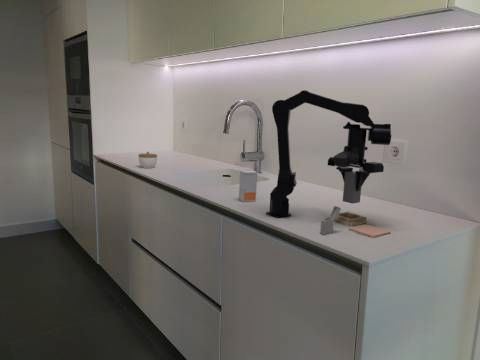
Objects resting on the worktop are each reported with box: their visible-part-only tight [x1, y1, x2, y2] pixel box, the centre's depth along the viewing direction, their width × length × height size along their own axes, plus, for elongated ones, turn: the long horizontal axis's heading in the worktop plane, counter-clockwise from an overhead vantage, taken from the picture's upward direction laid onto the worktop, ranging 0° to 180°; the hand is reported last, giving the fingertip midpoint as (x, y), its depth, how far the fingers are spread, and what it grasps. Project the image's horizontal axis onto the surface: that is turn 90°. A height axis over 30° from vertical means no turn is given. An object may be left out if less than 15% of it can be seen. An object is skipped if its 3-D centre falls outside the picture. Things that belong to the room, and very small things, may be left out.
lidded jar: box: [138, 151, 158, 169], centre depth 236 cm, size 11×11×9 cm
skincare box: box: [238, 170, 258, 203], centre depth 160 cm, size 6×4×12 cm
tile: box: [348, 223, 391, 239], centre depth 125 cm, size 9×9×1 cm
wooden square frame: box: [334, 211, 368, 227], centre depth 136 cm, size 8×8×2 cm
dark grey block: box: [342, 170, 362, 204], centre depth 134 cm, size 4×4×10 cm
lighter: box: [319, 205, 342, 236], centre depth 122 cm, size 7×2×8 cm, turn 129°
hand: (352, 189), depth 135 cm, fingers closed on dark grey block, 4 cm apart
